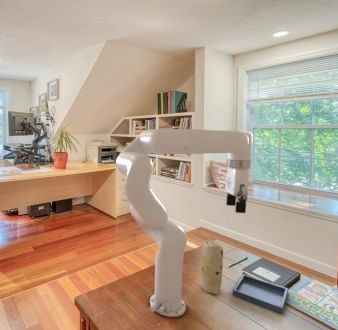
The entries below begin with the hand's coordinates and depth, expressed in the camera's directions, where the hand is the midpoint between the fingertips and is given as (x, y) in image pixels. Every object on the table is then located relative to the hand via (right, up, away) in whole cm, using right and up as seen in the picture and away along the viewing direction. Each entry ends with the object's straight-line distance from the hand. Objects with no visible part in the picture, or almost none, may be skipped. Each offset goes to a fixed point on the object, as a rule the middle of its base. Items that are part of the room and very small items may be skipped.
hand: (235, 208), depth 97 cm
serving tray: (+11, -34, +2) cm, 36 cm away
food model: (-7, -34, +6) cm, 35 cm away
